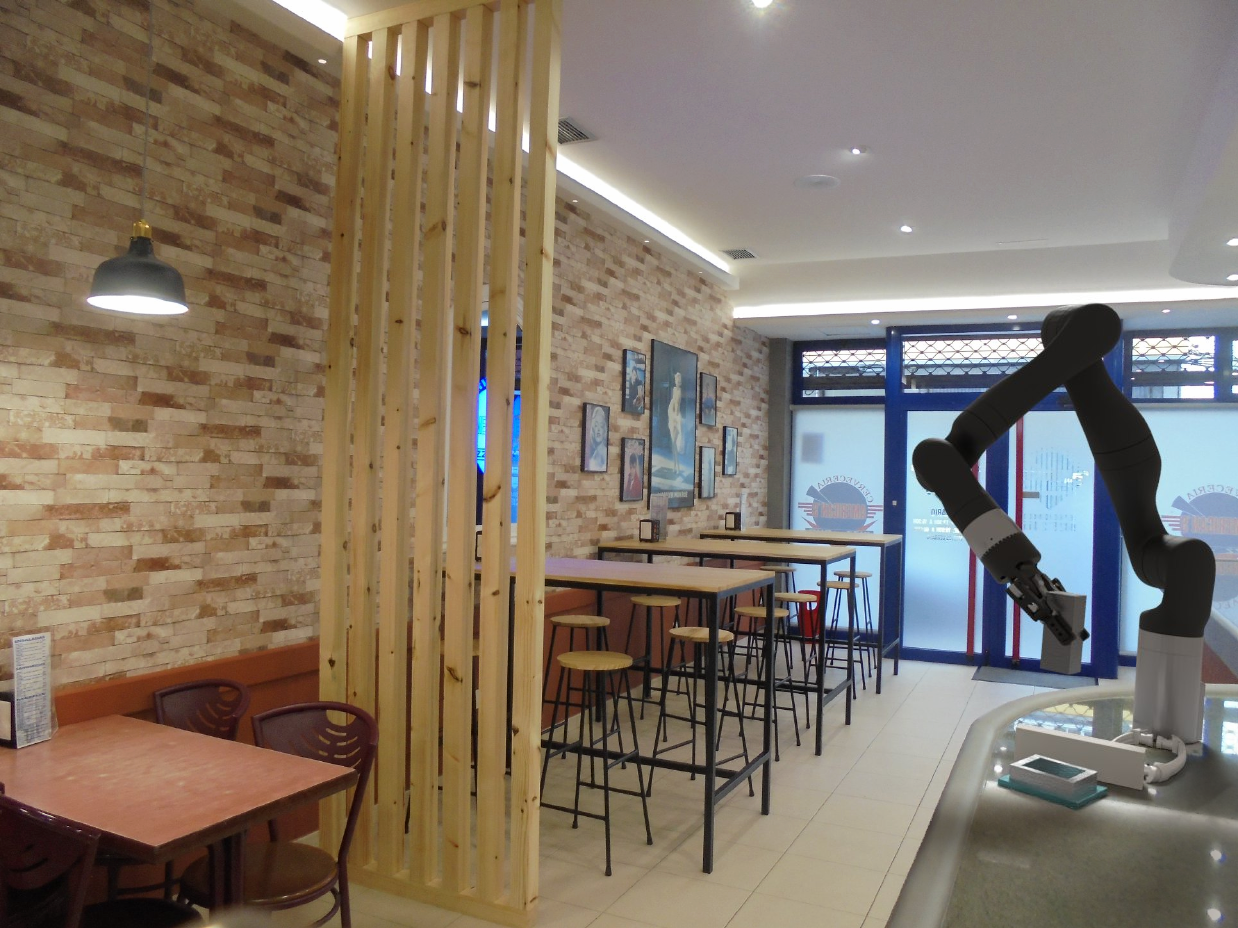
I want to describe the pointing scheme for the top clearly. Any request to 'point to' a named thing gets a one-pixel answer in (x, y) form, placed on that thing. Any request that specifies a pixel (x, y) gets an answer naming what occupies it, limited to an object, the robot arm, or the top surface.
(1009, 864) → the top surface
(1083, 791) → the keeper
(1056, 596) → the block
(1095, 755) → the door edge
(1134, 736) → the door handle
